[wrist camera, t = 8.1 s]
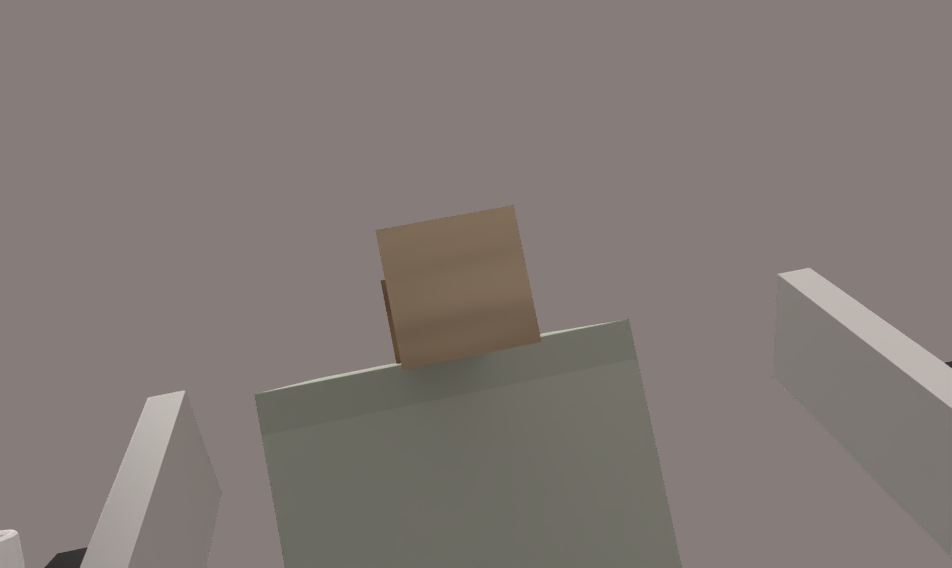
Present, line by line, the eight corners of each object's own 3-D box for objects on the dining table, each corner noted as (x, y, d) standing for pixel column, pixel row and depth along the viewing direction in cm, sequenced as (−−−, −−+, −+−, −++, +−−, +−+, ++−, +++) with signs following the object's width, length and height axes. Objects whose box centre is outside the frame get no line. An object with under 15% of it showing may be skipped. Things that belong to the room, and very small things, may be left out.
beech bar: (398, 363, 40) (383, 288, 40) (473, 348, 40) (458, 274, 40) (378, 374, 16) (343, 188, 16) (564, 337, 16) (526, 156, 17)
